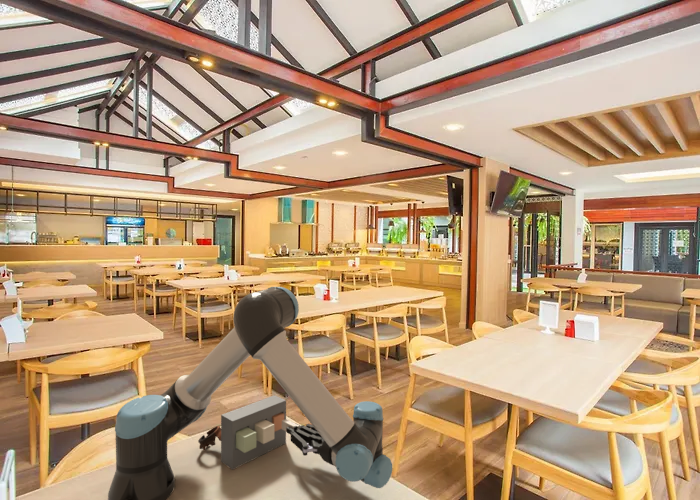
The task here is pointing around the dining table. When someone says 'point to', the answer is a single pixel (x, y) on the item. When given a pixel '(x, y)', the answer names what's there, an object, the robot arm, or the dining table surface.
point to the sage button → (245, 439)
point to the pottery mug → (210, 437)
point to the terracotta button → (277, 421)
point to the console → (248, 419)
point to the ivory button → (264, 431)
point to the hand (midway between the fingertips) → (283, 424)
